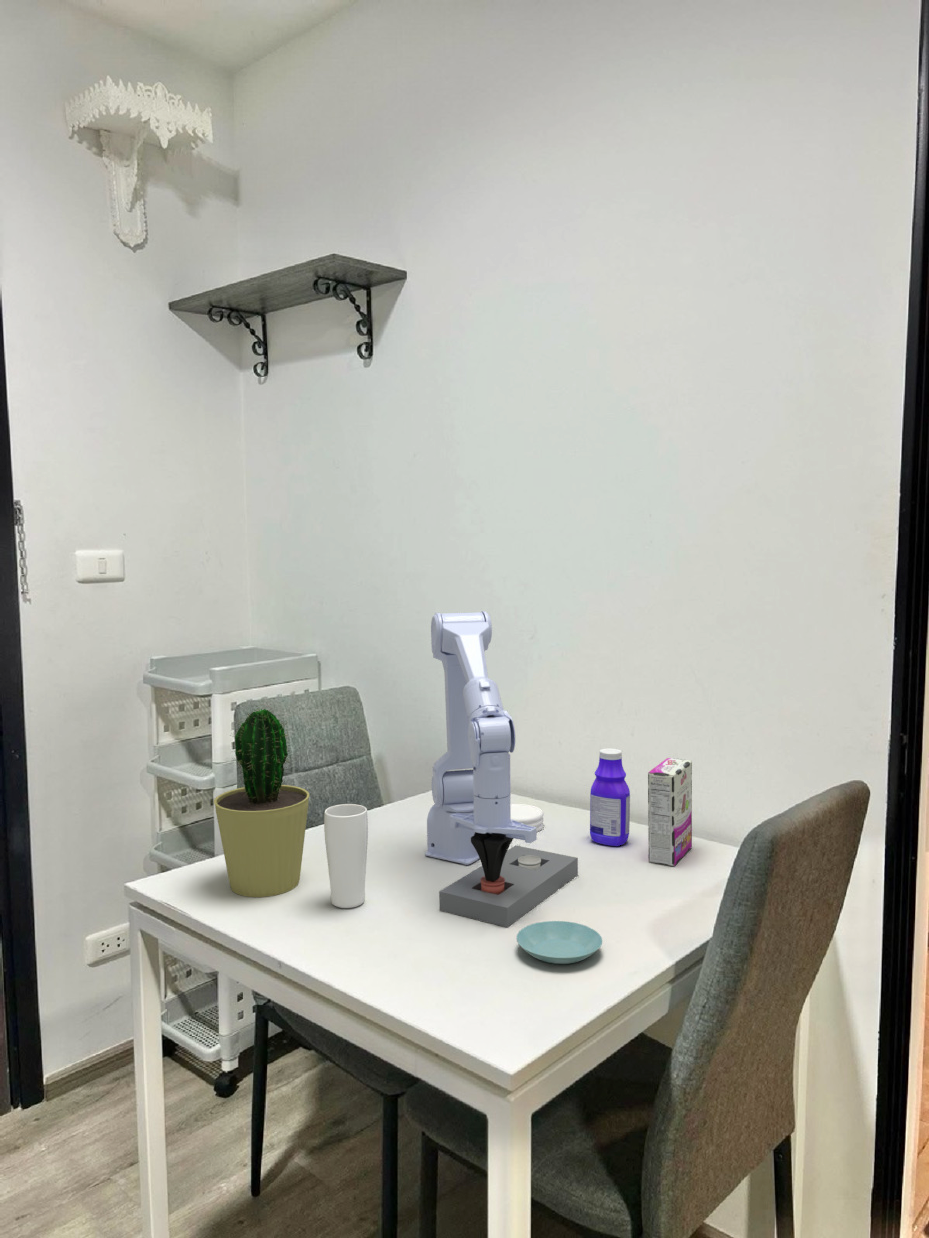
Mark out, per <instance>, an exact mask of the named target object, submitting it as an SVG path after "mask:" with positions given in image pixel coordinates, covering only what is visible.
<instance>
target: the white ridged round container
mask: <svg viewBox="0 0 929 1238" xmlns="http://www.w3.org/2000/svg"><path fill="white" fill-rule="evenodd" d="M510 808H511V819H512V820H515V821H517V822H520V823H523V824H525V825H528V826H532V827H536V828H537V833H538V832H540V831H541V830H543V828H544V811H543V810H542V809H541V808H540V807H538V806H535V805H532V804H524V803H510Z"/></svg>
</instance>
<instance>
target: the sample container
mask: <svg viewBox="0 0 929 1238" xmlns="http://www.w3.org/2000/svg"><path fill="white" fill-rule="evenodd" d="M518 863H519V866H520V867H525V868H529V869H534V870H536V869H538V868H539V867H540V863H541V859H540V858H539V857H537V856H531V855H527V856H521V857H519V858H518Z"/></svg>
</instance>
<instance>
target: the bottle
mask: <svg viewBox="0 0 929 1238" xmlns="http://www.w3.org/2000/svg"><path fill="white" fill-rule="evenodd" d="M622 752H623V751H622V750H620V749H617V748H610V747H608V748H601V749H600V750H599V755H598V756H599V760H598V766H597V767H596V769H595V771H594V776H595V779H594V780H593V782H592V784H591V787H590V799H589V801H590V802H589V803H590V806H589V807H590V810H589V835H590V839H591V840H592V842H595V844H596V843H597V844H602V845H605V846H611V847H620V845H621V846H623V845H624V844H625V843H626V842H628V839H629V836H630V822H631V821H630V817H631V813H630V812H631V811H630V810H631V791H630V787H629V785H628V783H627V782H626V779H625V778H626V776H627V773H626V771H625V770H624V767H623V766H624V765H623V756H622V755H623V753H622Z"/></svg>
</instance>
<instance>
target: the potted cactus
mask: <svg viewBox="0 0 929 1238" xmlns="http://www.w3.org/2000/svg"><path fill="white" fill-rule="evenodd" d="M273 712H274V710H273V709H272V710H271V709H269V710H268V709H266V708H261V709H259V708H258V707H256V709H254V711H252V712H250V713H249V712H248V713H247V712H246V713H245V716H246V718H245V719H244V721H243V722H242V723H241V722H240V721H239V720H238V719H236V720H237V723H238V729H237V731H236V733H235V734H233V733H232V732H231V735H229V736H231V737H233V738H234V739H235V740H234V743H232V745H234V746H235V748H234V749H233V753H235V757H233V760H234V759H235V760H236V763H237V764H238V768H237V769H235V771H238V769H240V772H238V774H240V776H242V777H241V778H240V780H242V783H243V785H244V786H243V787H239V788H235V789H231V790H228V791H225V792H223V793H221V794H219V795H217V796H216V797H215V798H214V799H213V804H214V807H215V808H214V809H215V813H216V820H217V823H218V824H217V825H218V830H219V834H220V840H221V845H222V851H223V856H224V861H225V865H226V867H225V868H226V871H227V875H228V876H227V877H228V882H229V886H230V889H231V891H232V892H233V893H234V894H237V895H239V896H243V897H249V898H263V897H265V898H267V897H273V896H278V895H282V894H286V893H287V892H290V891H292V890H294V889H295V888H296V887H297V886H298V885H299V883H300V879H301V871H302V863H303V852H304V844H305V836H306V828H307V821H308V820H307V818H308V811H309V802H310V801H309V798H310V792H309V791H308V790H306V789H305V788H302V787H299V786H295V785H289V784H287V782H285V780H284V778H283V777H284V774H285V769H287V767H286V764H287V763H288V764H290V765H291V764H292V763H291V762H289V761H294V760H292V759H291V758H290V756H289V753H290V750H289V749H288V747H290V746H291V744H289V745H288V746H287V739H288V734H287V733H285V728H284V726H286V724H287V723H284V722H281V719H278V718H277V716H276V714H274V713H273ZM288 752H289V753H288ZM288 758H289V759H288ZM292 765H293V764H292ZM284 766H285V767H284ZM282 783H284V784H282Z"/></svg>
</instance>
